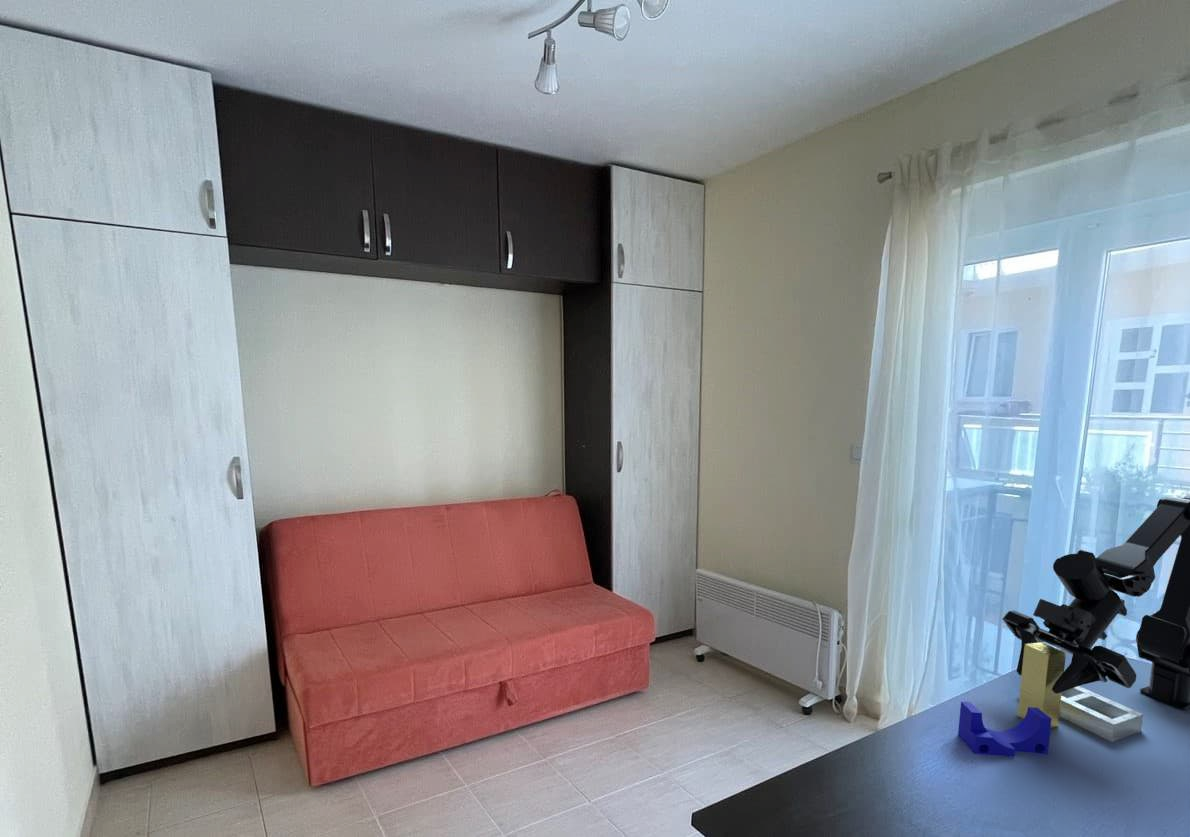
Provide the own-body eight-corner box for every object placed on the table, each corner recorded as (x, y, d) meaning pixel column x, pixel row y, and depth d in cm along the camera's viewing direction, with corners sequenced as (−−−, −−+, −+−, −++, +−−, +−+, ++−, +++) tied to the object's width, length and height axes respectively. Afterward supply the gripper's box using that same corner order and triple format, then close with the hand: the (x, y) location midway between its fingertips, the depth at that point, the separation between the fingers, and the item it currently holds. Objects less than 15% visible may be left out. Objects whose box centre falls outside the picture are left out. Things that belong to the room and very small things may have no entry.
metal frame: (1048, 688, 109) (1050, 673, 109) (1141, 731, 96) (1143, 714, 96) (1019, 696, 106) (1021, 681, 105) (1111, 742, 93) (1113, 724, 93)
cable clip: (974, 754, 88) (977, 717, 88) (957, 736, 93) (961, 701, 92) (1054, 761, 87) (1058, 724, 87) (1034, 743, 92) (1037, 707, 91)
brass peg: (1034, 712, 100) (1041, 642, 100) (1058, 726, 97) (1065, 653, 96) (1017, 715, 99) (1024, 644, 98) (1040, 729, 95) (1048, 655, 95)
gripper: (1014, 567, 106) (964, 629, 104) (1132, 607, 89) (1074, 682, 86) (1041, 605, 109) (992, 666, 107) (1160, 651, 91) (1105, 725, 89)
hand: (1035, 682), depth 97 cm, fingers open, 6 cm apart
